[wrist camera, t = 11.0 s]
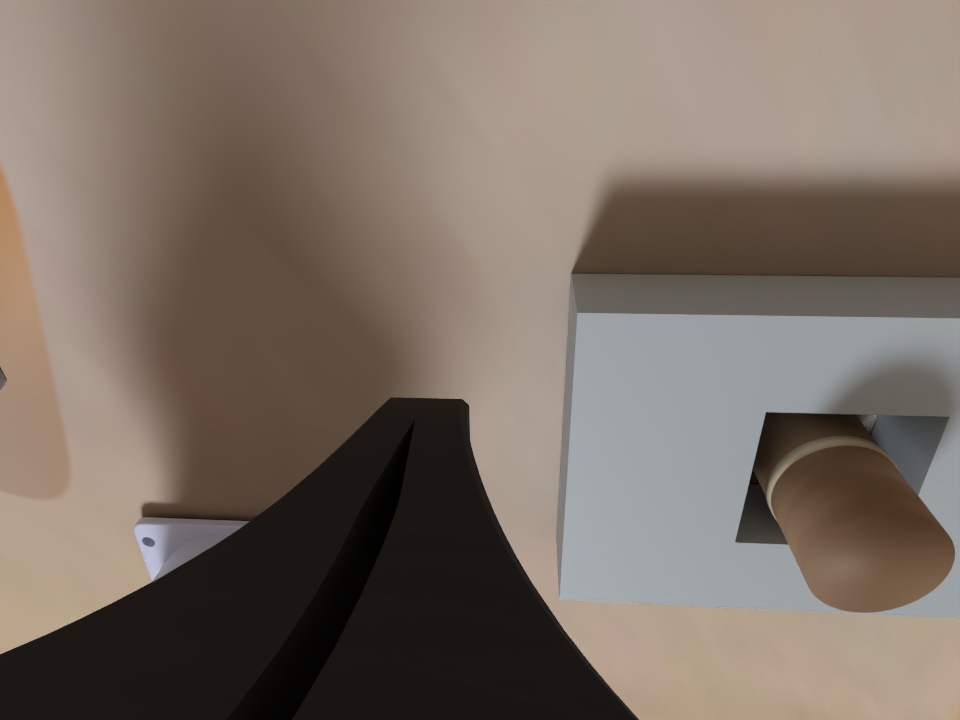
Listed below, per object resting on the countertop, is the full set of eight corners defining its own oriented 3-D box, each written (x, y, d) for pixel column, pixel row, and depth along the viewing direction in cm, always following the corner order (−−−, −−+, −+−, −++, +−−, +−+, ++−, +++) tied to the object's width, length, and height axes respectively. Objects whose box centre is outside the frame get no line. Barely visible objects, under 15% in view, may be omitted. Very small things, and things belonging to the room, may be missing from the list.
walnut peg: (869, 388, 21) (982, 519, 15) (833, 476, 22) (923, 619, 17) (754, 380, 21) (828, 507, 16) (727, 468, 23) (786, 607, 17)
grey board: (984, 554, 24) (1041, 621, 21) (556, 538, 25) (559, 599, 22) (1121, 279, 18) (1220, 322, 16) (571, 273, 19) (577, 312, 17)
